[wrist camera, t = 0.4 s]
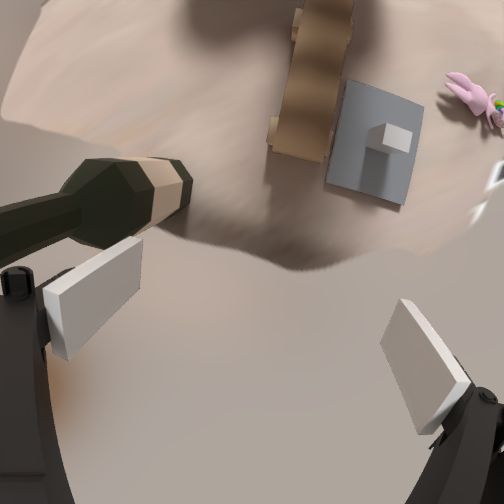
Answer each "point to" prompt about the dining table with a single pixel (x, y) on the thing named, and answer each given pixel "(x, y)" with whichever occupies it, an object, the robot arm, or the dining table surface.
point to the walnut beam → (314, 80)
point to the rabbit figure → (477, 98)
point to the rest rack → (293, 38)
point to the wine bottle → (97, 206)
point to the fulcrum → (375, 142)
